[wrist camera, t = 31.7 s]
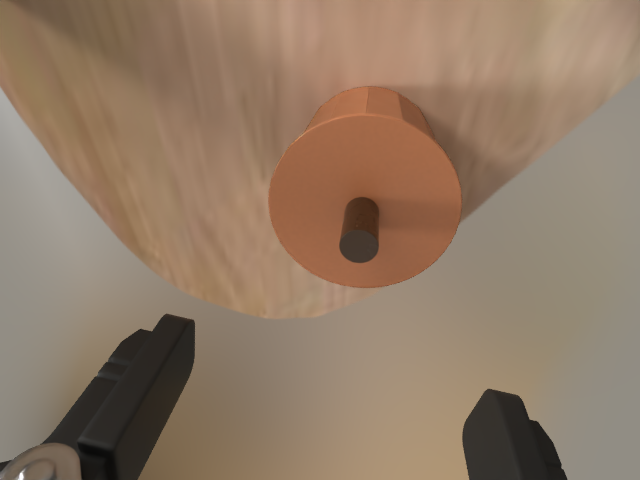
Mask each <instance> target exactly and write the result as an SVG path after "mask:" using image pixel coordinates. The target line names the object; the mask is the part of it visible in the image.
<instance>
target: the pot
mask: <svg viewBox="0 0 640 480" xmlns="http://www.w3.org/2000/svg"><path fill="white" fill-rule="evenodd" d="M356 113H375V114H381V115H388V116H391V117H395V118H398V119H401V120H404V121H406V122H408V123H410V124H413V125H415V126H416V127H418V128H419V129H421V130H423V131H424V132H426V133H427V134H428V135H429V136H430V137H432V138H433V139H434V140H435V138H434V136H433V133H432V131H431V129H430V127H429V125H428V123H427V122H426V119H425V118H424V116H423V114H422V113H421V111H420V109H419V108H418V107H417V106H415V105H414V104H413V103H412V102H411V101H410V100H408V99H407V98H405V97H404V96H402V95H401V94H399V93H397V92H394V91H392V90H388V89H385V88H379V87H360V88H354V89H351V90H347V91H344V92H341V93H340V94H338V95H337V96H335V97H333V98H331V99H330V100H329V101H328V102H326V103H325V104H324V105H322V106H321V107H320V108H319V109H318V111H317V113H316V114H315V116H314V117H313V119H312V120H311V122H310V124H309V125H308V127H307V128H306V130H305V132H306V131H307V130H309V129H310V128H312V127H314V126H315V125H317V124H319V123H321V122H324V121H326V120H329V119H331V118H335V117H339V116H342V115H348V114H356Z"/></svg>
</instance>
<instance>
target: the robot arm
mask: <svg viewBox="0 0 640 480" xmlns="http://www.w3.org/2000/svg"><path fill="white" fill-rule="evenodd" d="M194 356H195V322H194V320H192V319H187V318H183V317H178V316H174V315H170V314H165V315H164V316H163V317H162V318H161V319H160V321H159V322H158V324H157V325H156V327H155V328H154V329H153V331H152V332H151V331H147V330H143V329H140V330H138V331H136V332H135V333H134V334H132V335H131V336H129V337H128V338H126V339H125V340H123V341H122V342H121V343H120V344H119V346H118V347H117V348H116V350H115V351H114V352H113V354H112V355H111V356H110V358H109V360H108V362H106V363H105V364H104V365H103V367H102V368H101V370H100V371H99V372H98V375H97V376H96V377H94V379H93V380H92V381H91V383H90V384H89V385H88V387H87V388H86V389H85V391H84V392H83V393H82V395H81V396H80V397H79V398H78V400H77V401H76V402H75V404H74V405H73V406H72V408H71V409H70V410H69V412H68V413H67V414H66V416H65V417H64V418H63V420H62V421H61V422H60V424H59V425H58V426H57V428H56V429H55V430H54V432H53V433H52V434H51V435H50V436H49V437H48V438H47V439H46V440H45V441H44V442H43V443H42V444H40V445H38V446H35V447H33V448H30V449H28V450H26V451H25V452H23V453H21V454H20V455H18V456H17V457H15V458H14V459H13V460H9V461H6V462H2V463H0V480H137V479H138V477H139V476H140V474H141V472H142V470H143V468H144V466H145V464H146V462H147V460H148V458H149V456H150V454H151V452H152V450H153V448H154V446H155V444H156V442H157V440H158V438H159V436H160V434H161V432H162V430H163V428H164V426H165V424H166V422H167V420H168V418H169V416H170V414H171V412H172V410H173V408H174V407H175V404H176V403H177V401H178V398H179V397H180V394H181V393H182V391H183V389H184V387H185V385H186V383H187V381H188V378H189V376H190V374H191V371H192V367H193V363H194ZM463 448H464V453H465V459H466V464H467V469H468V475H469V480H567V477H566V475H565V472H564V470H563V469H562V468H561V462H560V459H559V457H558V454H557V452H556V449H555V447H554V444H553V442H552V441H551V439H550V438H549V436H548V435H547V434H546V432H545V431H544V430H543V428H542V427H541V426H540V424H539V423H538V422H537V421H533V420H529V417H528V414H527V412H526V409H525V406H524V403H523V401H522V399H521V398H520V397H519V396H518V395H514V394H510V393H505V392H501V391H497V390H492V389H487V390H486V391H485V392H484V393H483V395H482V396H481V398H480V400H479V401H478V403H477V404H476V406H475V407H474V409H473V410H472V412H471V414H470V415H469V416H468V418H467V420H466V422H465V424H464V428H463Z"/></svg>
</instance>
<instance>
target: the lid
mask: <svg viewBox="0 0 640 480" xmlns="http://www.w3.org/2000/svg"><path fill="white" fill-rule="evenodd" d="M268 203H269V213H270V217H271V222H272V225H273V228H274V230H275V233H276V235H277V237H278V239H279V241H280V242H281V244H282V245H283V247H284V248H285V250H286V251H287V252H288V253H289V254H290V256H291V257H292V258H293V259H294V260H295V261H296V262H298V263H299V264H300V265H301V266H302V267H304V268H305V269H306V270H308V271H309V272H311V273H313V274H314V275H316V276H318V277H320V278H322V279H325V280H327V281H330V282H332V283H336V284H340V285H344V286H350V287H359V288H375V287H382V286H388V285H392V284H396V283H399V282H402V281H405V280H407V279H410V278H412V277H414V276H416V275H417V274H419V273H421V272H422V271H424V270H425V269H427V268H428V267H429V266H431V265H432V264H433V263H434V262H435V261H436V260H437V259H438V258H439V257H440V256H441V255H442V254H443V253H444V251H445V250H446V249H447V247H448V246H449V244H450V243H451V241H452V239H453V237H454V235H455V233H456V231H457V228H458V225H459V222H460V217H461V211H462V194H461V186H460V182H459V179H458V175H457V173H456V171H455V168H454V166H453V164H452V162H451V160H450V159H449V157H448V156H447V154H446V152H445V151H444V150H443V149H442V147H441V146H440V145H439V144H438V143H437V142H436V141H435V140H434V139H433V138H432V137H430V136H429V135H428V134H427V133H426V132H424V131H423V130H421V129H419V128H418V127H416V126H415V125H413V124H410V123H408V122H406V121H404V120H401V119H398V118H395V117H391V116H388V115H381V114H375V113H356V114H348V115H342V116H339V117H335V118H331V119H329V120H326V121H324V122H321V123H319V124H317V125H315V126H314V127H312V128H310V129H309V130H307V131H306V132H304V133H303V134H302V135H301V136H299V137H298V138H297V139H296V140H295V141H294V142H293V143H292V144H291V145H290V146H289V147H288V149H287V150H286V151H285V153H284V154H283V156H282V157H281V159H280V160H279V162H278V164H277V166H276V168H275V170H274V173H273V176H272V179H271V183H270V189H269V201H268Z"/></svg>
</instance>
